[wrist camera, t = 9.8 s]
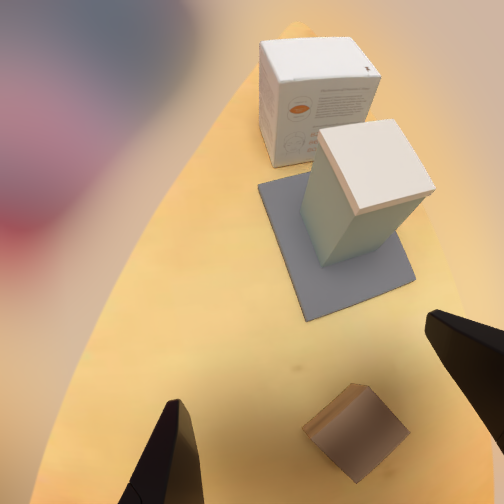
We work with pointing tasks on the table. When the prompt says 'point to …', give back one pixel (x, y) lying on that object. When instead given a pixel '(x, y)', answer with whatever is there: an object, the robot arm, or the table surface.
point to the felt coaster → (336, 275)
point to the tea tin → (361, 188)
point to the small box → (310, 92)
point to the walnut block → (356, 431)
